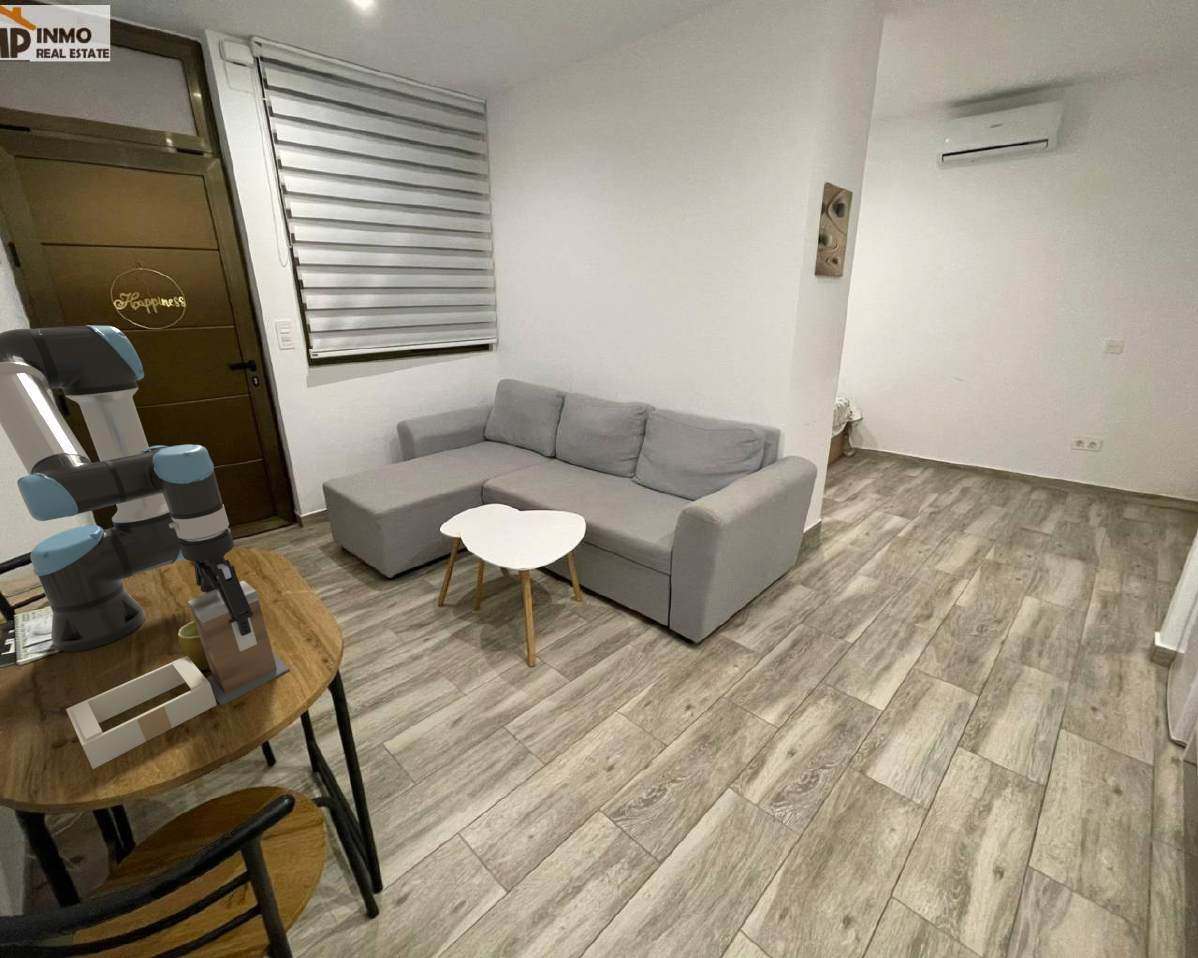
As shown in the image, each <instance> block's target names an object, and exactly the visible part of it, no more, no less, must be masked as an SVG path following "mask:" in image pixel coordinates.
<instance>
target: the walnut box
mask: <svg viewBox="0 0 1198 958" xmlns="http://www.w3.org/2000/svg"><path fill="white" fill-rule="evenodd" d="M239 583H240V585H241V587H242V590H243V592H244V594H245V597H246V599H247V601H248V604H249V606H250V608H251V611H252V612H253V616H252V617H250V620H251V624H252V627H253V631H254V635H255V638H256V642H257V644H256V645H254V646H252V647H250V648H247V649H245V650H243V651H240V650H239V648H238V644H237V641H236V638H235V634H234V631H233V627H232V624H229V623H228V621H229V620H230V619H232V618H231V615H230V613H229V611H228V609H227V607H226V605H225V603H224V601H223V599H222V597H221V595H220V593H219V591H218V590H217V591H214V592H211V593H209V594H206V595H203V594H202V595H201V596H199V597H196V598H193V599H191V600H187V603H188V606H189V609H190V612H191V615H192V617H193V621H195V624H196V627H197V630H198V633H199V636H200V639H201V642H202V645H203V648H204V651H205V654H206V658H207V661H208V664H209V667H210V669H209V670H210V673H211V676H213V679H214V681H215V682H216V683H217V685H218V686H219V687H220V688H221V689H222V691H223V692H224V693H225V694H227V693H229V692H231V691H233V690H235V689H237V688H239V687H241V686H243V685H245V684H247V683H249V682H251V681H253V680H255V679H257V678H259V677H261V676H262V675H264V674H266V673H268V672H270V671H272V670H274V669H276V668H277V667H276V663H275V660H274V656H273V653H274V652H273V649H272V645H271V641H270V638H269V634H268V631H267V627H266V623H265V619H264V615H263V612H262V608H261V604H260V601H259V600H260V599H259V596H258V591H257V590H256V589H255V588H253V587H252V586H251V585H250V584H248V583H247V582H246V581H245V580H241V581H240V580H239Z"/></svg>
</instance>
